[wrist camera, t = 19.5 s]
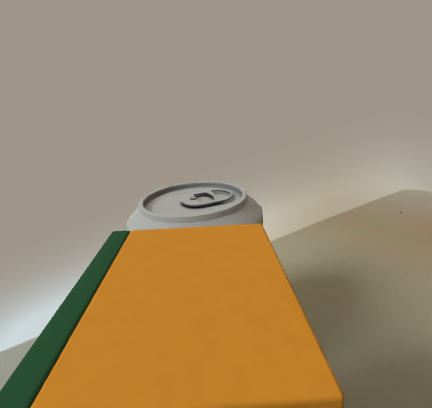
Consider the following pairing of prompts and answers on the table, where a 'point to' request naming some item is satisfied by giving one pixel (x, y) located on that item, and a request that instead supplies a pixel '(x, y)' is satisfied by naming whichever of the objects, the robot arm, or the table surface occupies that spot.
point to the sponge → (178, 330)
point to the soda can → (195, 207)
